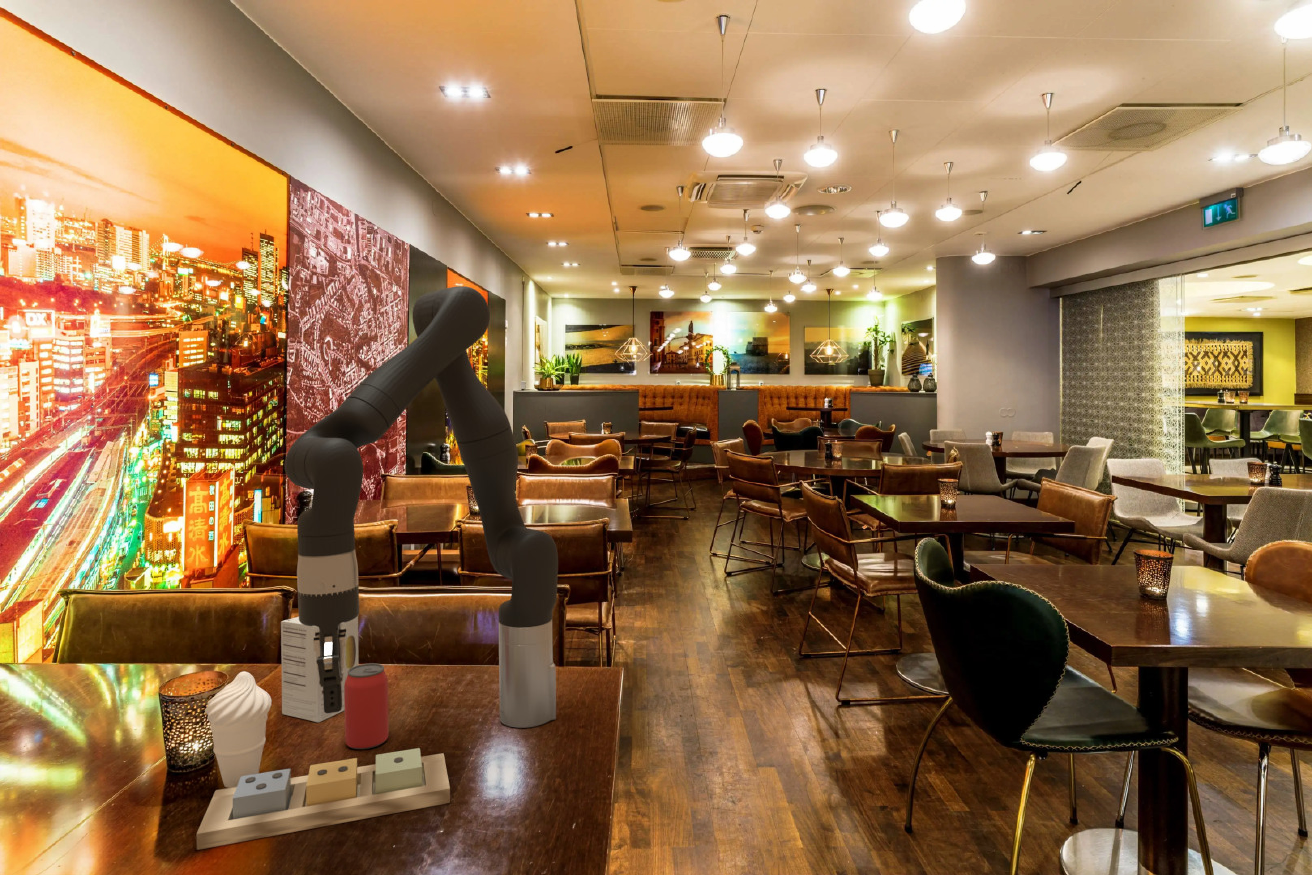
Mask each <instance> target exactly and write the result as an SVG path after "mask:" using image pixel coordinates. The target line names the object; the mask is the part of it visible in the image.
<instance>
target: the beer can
mask: <svg viewBox="0 0 1312 875" xmlns="http://www.w3.org/2000/svg"><path fill="white" fill-rule="evenodd" d="M347 673H348V675H347V678H346V681H345V684H344V705H345V710H344V741H345V744H346V746H347V747H349V748H350V749H355V750H369V749H372V748H375V747H379V746H380V745H382V744H383V743H385V742H386V741H387V740H388V737H389V734H390V732H389V724H390V723H389V682H388V681H389V679H388V674H387V673H386V671H385V666H384V665H383V664H381V663H376V662H375V663H373V662H372V663H371V662H369V663H362V664H358V665H357V666H354V667H352V668H350V669H349V670H348V672H347Z"/></svg>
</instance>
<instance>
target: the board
mask: <svg viewBox="0 0 1312 875" xmlns="http://www.w3.org/2000/svg"><path fill="white" fill-rule="evenodd" d="M421 763H422V786H420V787H414V788H409V789H403V790H397V791H392V792H386V793H380V794H376V763H375V764H370V765H363V766H357V784H358V786H357V798H352V799H346V800H341V801H335V802H329V803H324V804H318V805H312V806H307V798H306V785H307V780H308V775H309V774H307V775H302V776H296V777H295V776H294V777H291V799H290V804H289V808H288V810H284V811H278V812H273V813H267V814H261V815H256V816H250V817H244V818H239V819H233V796H234V793H235V791H236V788H237V787H233V788H227V787H226V788H222V789H216V790H215V791H214V793H213V796H212V798H211V800H210V803H209V805H208V806H207V810H206V811H205V814H204V816H203V819H202V821H201V822H200V826H199V827H198V830H197V832H196V850H203V849H204V850H205V849H209V848H214V847H220V846H226V845H230V844H235V843H243V842H246V841H252V840H257V839H262V838H268V837H273V836H279V835H284V834H291V833H294V832H299V831H306V830H310V829H311V830H312V829H317V828H321V827H327V826H332V825H339V824H342V823H348V822H353V821H359V820H364V819H370V818H374V817H380V816H385V815H386V816H387V815H391V814H396V813H401V812H408V811H413V810H418V809H425V808H429V807H434V806H440V805H445V804H450V803H451V788H450V787H451V786H450V782H449V776H448V771H447V766H446V759H445V755H444V752H443V753H436V754H431V755H424V756H421Z"/></svg>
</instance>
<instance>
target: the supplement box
mask: <svg viewBox="0 0 1312 875" xmlns="http://www.w3.org/2000/svg"><path fill="white" fill-rule="evenodd" d="M340 628H341V629H347V639H346V647H345V656H346V658H345V666H344V668H343V671H342V673H343V681H342V684H341V686H342V709H341V710H340V711H339V712H333V713H325V712H324V699H323V687H321V685H320V684H319V680H320V678H319V671H317V663H316V652H315V651H314V643H313V640H314V638H315V632H319V627H317V626H306V625H303V624H302V623H300V621H299V616H296V617H293V618H289V619H285V620H282V621H280V637H281V638H280V646H281V648H280V649H281V656H280V657H281V714H282V715H284V716H285V715H286V716H288V717H294V718H298V719H302V720H306V721H311V722H314V723H321V722H323V721H325V720H327V719H329V718H332V717H333V716H335V715H337V714H340V713H342V712H345V705H344V684H345V681H346V678H347V675H348V673H347V672H348V670H349V669H350V668H352V667H354V666H357V665H359V615H358V616H357V617H356V618H355V619H353V620H351V621H348V622H342V623H340Z"/></svg>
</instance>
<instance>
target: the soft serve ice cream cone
mask: <svg viewBox="0 0 1312 875" xmlns="http://www.w3.org/2000/svg"><path fill="white" fill-rule="evenodd" d="M271 706H272V697H271V695H270V694H269V693H268V692H267V691H266V690H265V689H263V688H261V687H260V686H259V685H257V683H256V680H255V677H254V676H253V675H252V674H251V673H250V672H248V671H241V672H239V673H238V674H237V675H236V676H235V677H234V679H233V681H232V682H230V683H229V684H227V685H225V686H224V687H223V688H222V689H221V690H220V691H218V692H217V693H216V694H214V697H212V698H210V700H208V702H207V707H206V708H204V709H205V710H204V712H205V714H206V715H207V721H209V722H210V723H209V724H210V727H209V729H210V731H211V732H212V741H213V742H212V743H213V749H212V750H213V751H212V752H213V753H214V754H215V757H216V761H217V764H218V768H219V772H220V776H221V779H222V783H223V785H224V787H225V788H226V789H227V788H233V787H237V785H238V783H239V780H240V778H241V776H246V775H252V774H259V773H260V767H261V761H262V756H263V753H264V752H263V751H264V746H265V744H266V740H267V739H266V730H267V720H268V714H269V711H270V710H271Z"/></svg>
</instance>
